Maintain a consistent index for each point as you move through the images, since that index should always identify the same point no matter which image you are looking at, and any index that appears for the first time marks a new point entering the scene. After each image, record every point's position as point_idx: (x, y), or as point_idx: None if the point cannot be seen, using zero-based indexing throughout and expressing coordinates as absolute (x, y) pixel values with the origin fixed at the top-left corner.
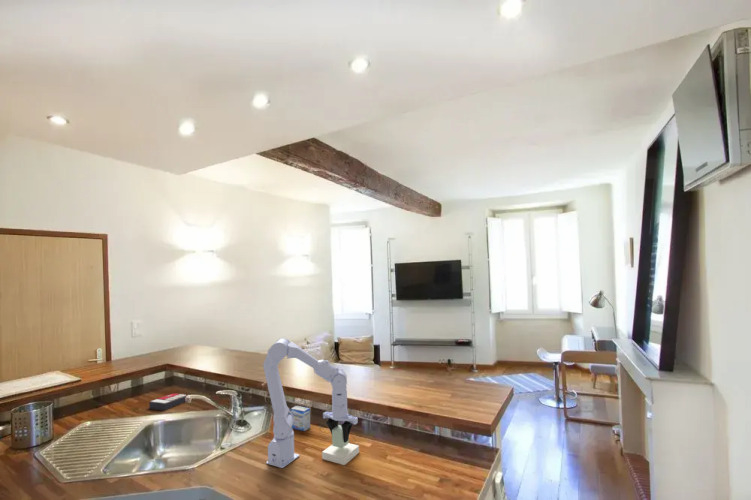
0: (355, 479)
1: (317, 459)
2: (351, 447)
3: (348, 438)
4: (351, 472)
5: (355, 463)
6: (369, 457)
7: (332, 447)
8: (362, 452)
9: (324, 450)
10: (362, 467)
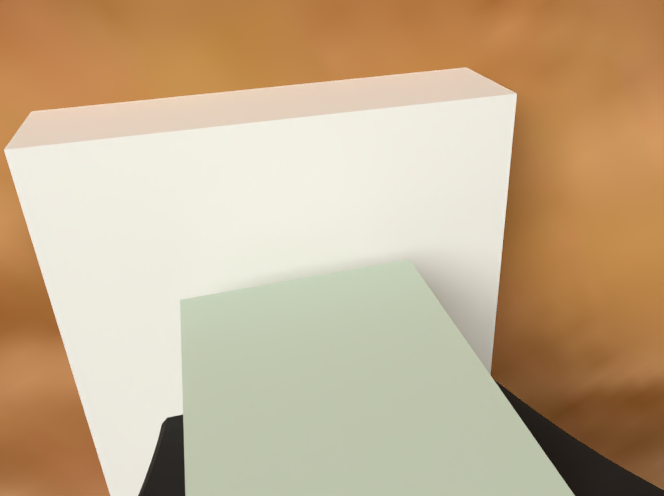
0: (645, 465)
1: (85, 486)
2: (430, 211)
3: (443, 316)
4: (573, 425)
5: (543, 301)
6: (653, 104)
7: (148, 374)
8: (513, 38)
9: (113, 485)
10: (642, 313)
